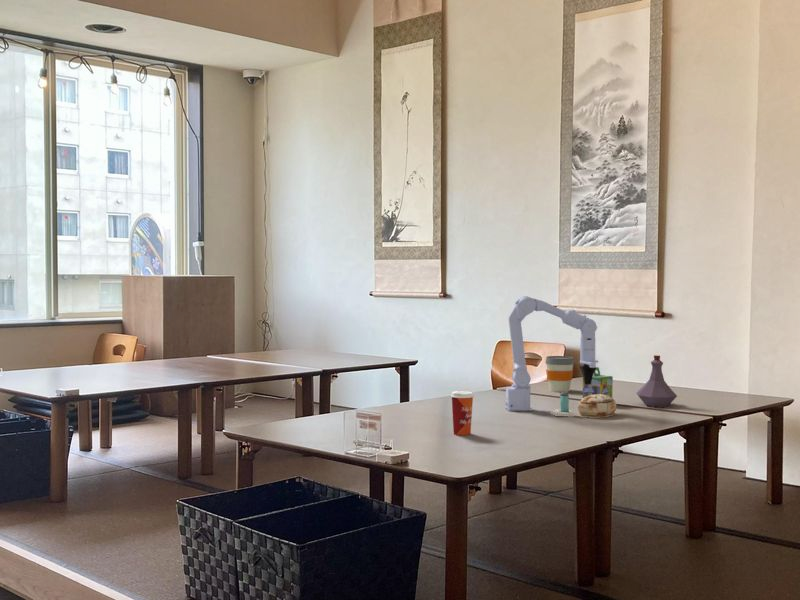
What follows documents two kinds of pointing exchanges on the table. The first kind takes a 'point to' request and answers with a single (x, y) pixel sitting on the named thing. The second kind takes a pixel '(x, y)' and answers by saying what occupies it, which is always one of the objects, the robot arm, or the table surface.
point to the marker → (564, 401)
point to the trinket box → (597, 406)
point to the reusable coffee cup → (559, 372)
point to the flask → (656, 387)
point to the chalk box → (598, 385)
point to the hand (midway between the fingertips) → (587, 384)
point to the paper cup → (462, 412)
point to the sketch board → (561, 413)
